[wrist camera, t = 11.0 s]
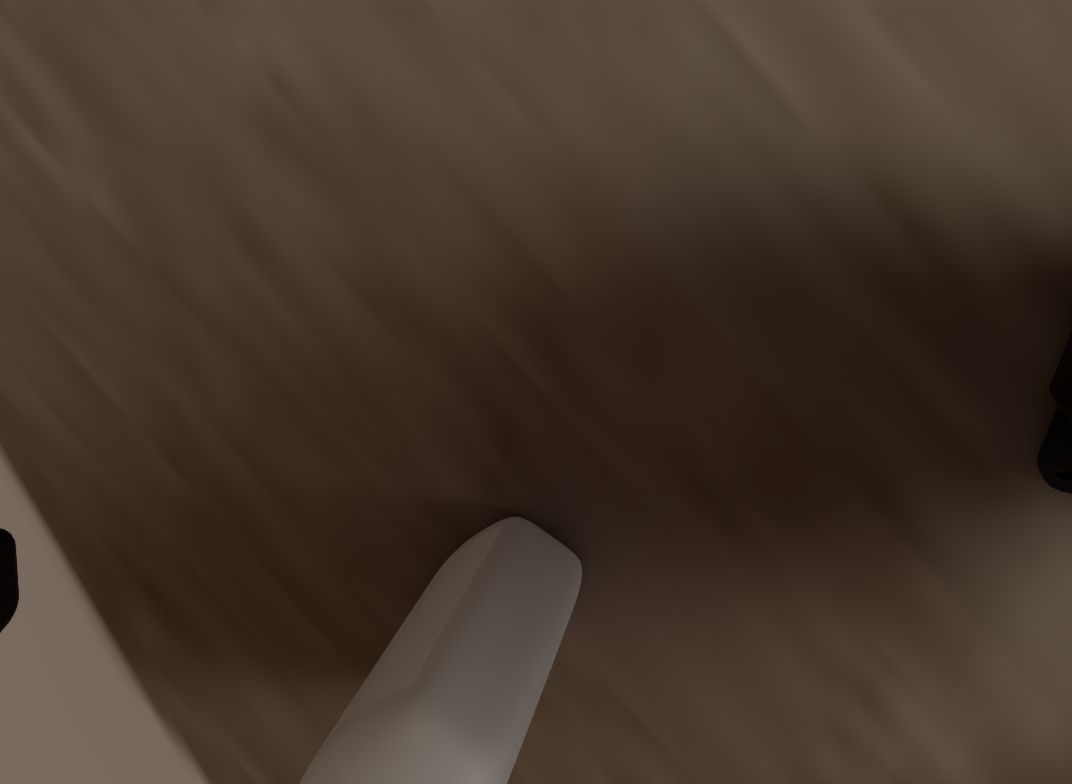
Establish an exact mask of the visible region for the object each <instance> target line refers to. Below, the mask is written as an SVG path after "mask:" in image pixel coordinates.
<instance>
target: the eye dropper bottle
mask: <svg viewBox="0 0 1072 784" xmlns="http://www.w3.org/2000/svg"><path fill="white" fill-rule="evenodd" d="M582 573H583V572H582V566H581V561H580V560H579V559H578V557H577V556H576V555H575V554H574V552H572V551H571V550H570V549H568V548H567V547H566V546H565V545H563V544H562V543H561V542H559V541H558V540H556V539H555V538H554V537H552V536H551V535H549V534H548V533H547V532H545V531H544V530H543V529H541V528H540V527H538V526H537V525H535V524H534V523H532V522H531V521H529V520H526V519H524V518H521V517H508V518H506V519H503V520H501V521H498V522H496V523H494V524H492V525H491V526H489V527H487V528H485V529H484V530H482V531H480V532H479V533H477V534H476V535H474V536H473V537H472V538H470V539H469V540H468V541H466V542H465V543H464V544H463V545H461V546H460V547H459V548H458V549H457V550H456V551H455V552H454V553H453V554H452V555H451V556H450V557H449V558H448V559H447V560H446V561H445V563H444V564H443V565H442V566H441V568H440V569H439V570H438V571H437V573H436V574H435V576H434V577H433V579H432V580H431V582H430V583H429V585H428V586H427V588H426V589H425V591H424V592H423V594H422V595H421V597H420V598H419V600H418V601H417V603H416V604H415V606H414V607H413V609H412V610H411V612H410V613H409V615H408V616H407V618H406V619H405V621H404V622H403V624H402V625H401V627H400V628H399V630H398V631H397V633H396V634H395V636H394V637H393V639H392V640H391V642H390V643H389V645H388V646H387V648H386V649H385V651H384V652H383V654H382V655H381V657H380V659H379V660H378V662H377V663H376V665H375V666H374V668H373V669H372V671H371V672H370V674H369V675H368V677H367V678H366V680H365V681H364V683H363V684H362V686H361V687H360V689H359V690H358V692H357V693H356V695H355V696H354V698H353V699H352V701H351V702H350V704H349V705H348V707H347V708H346V710H345V711H344V713H343V714H342V716H341V717H340V719H339V721H338V722H337V724H336V725H335V727H334V728H333V730H332V731H331V733H330V734H329V736H328V737H327V739H326V740H325V742H324V743H323V745H322V746H321V748H320V749H319V751H318V753H317V754H316V756H315V757H314V759H313V760H312V762H311V764H310V765H309V767H308V769H307V770H306V772H305V774H304V776H303V777H302V779H301V781H300V783H299V784H507V782H508V779H509V777H510V774H511V771H512V769H513V766H514V764H515V761H516V759H517V756H518V754H519V751H520V748H521V746H522V743H523V741H524V738H525V735H526V733H527V730H528V727H529V725H530V722H531V720H532V717H533V714H534V712H535V709H536V706H537V704H538V701H539V699H540V696H541V693H542V691H543V688H544V685H545V683H546V680H547V678H548V675H549V672H550V670H551V667H552V664H553V662H554V659H555V656H556V654H557V651H558V648H559V646H560V643H561V641H562V638H563V635H564V633H565V630H566V627H567V625H568V622H569V619H570V617H571V614H572V611H573V609H574V606H575V603H576V600H577V597H578V593H579V589H580V585H581V580H582Z"/></svg>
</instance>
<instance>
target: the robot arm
mask: <svg viewBox="0 0 1072 784" xmlns="http://www.w3.org/2000/svg"><path fill="white" fill-rule="evenodd" d="M1049 392H1050V394H1051V396H1052V397H1053V399H1054V401H1055V402H1056V404H1057V405H1058V407H1057V410H1056V412H1055V415H1054V417H1053V420H1052V422H1051V425H1050V427H1049V430H1048V432H1047V435H1046V437H1045V440H1044V442H1043V445H1042V447H1041V450H1040V452H1039V455H1038V461H1037V465H1038V468H1039V471H1040V473H1041V475H1042V477H1043V478H1044V480H1045V481H1046V482H1047V483H1048V484H1049V485H1050V486H1051V487H1052V488H1055V489H1057V490H1059V491H1063V492H1067V493H1071V494H1072V470H1071V471H1069V472H1058V471H1056V470H1055V469H1056V465H1057V464H1058V462H1059V461H1060V460H1063V459H1065V458H1072V332H1071V334H1070V337H1069V340H1068V342H1067V345H1066V347H1065V350H1064V352H1063V355H1062V357H1061V360H1060V363H1059V365H1058V368H1057V370H1056V373H1055V375H1054V378H1053V381H1052V383H1051V386H1050V389H1049ZM18 600H19V588H18V572H17V557H16V544H15V540H14V538H13V537H12V535H11V533H9V532H8V531H6V530H4V529H1V528H0V632H1V631H2V630H3V629H4V627H6V625H7V624H8V623H9V622H10V620H11V618H12V617H13V615H14V613H15V611H16V608H17V605H18Z"/></svg>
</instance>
